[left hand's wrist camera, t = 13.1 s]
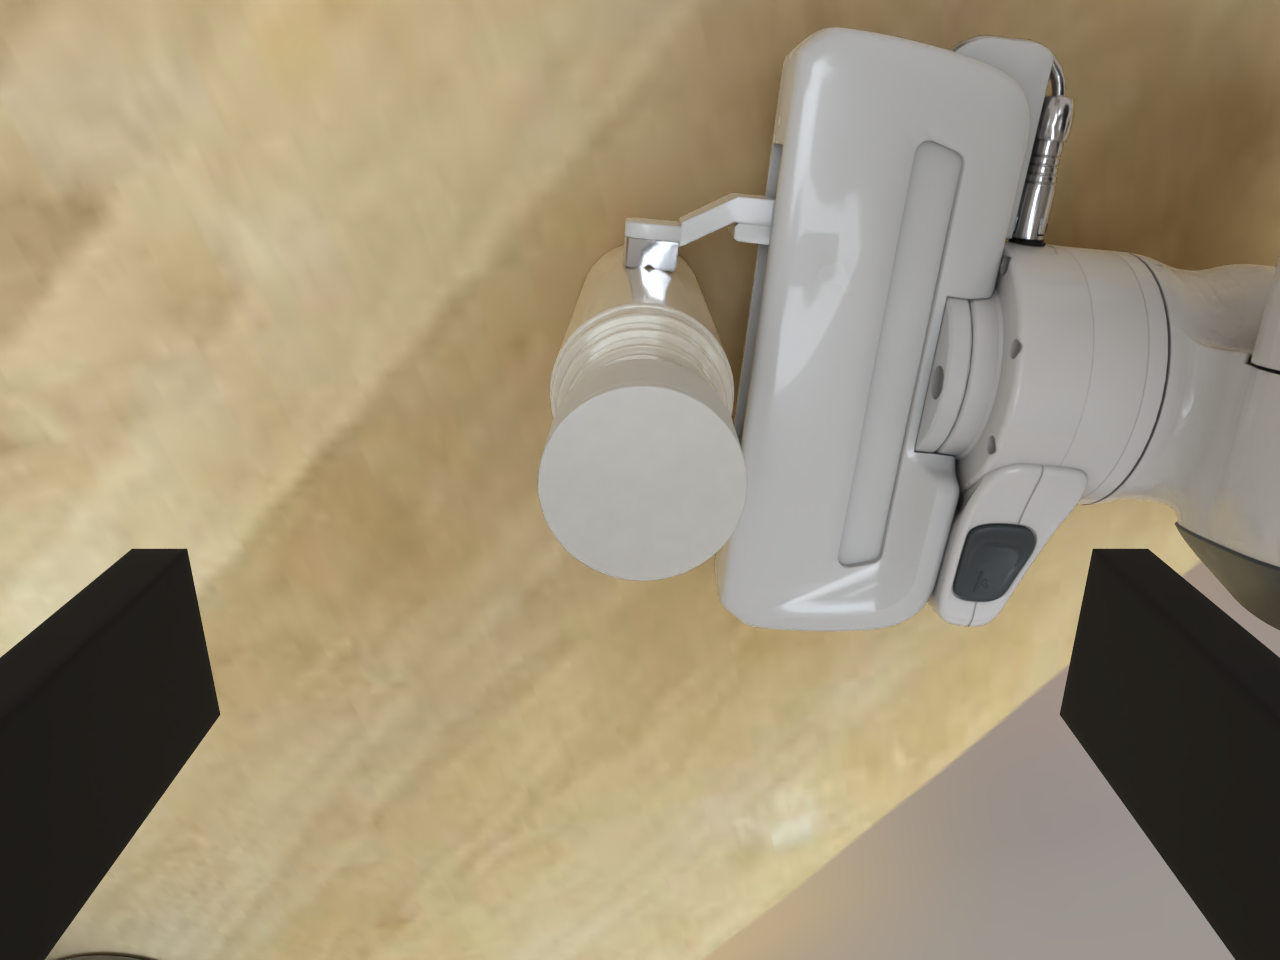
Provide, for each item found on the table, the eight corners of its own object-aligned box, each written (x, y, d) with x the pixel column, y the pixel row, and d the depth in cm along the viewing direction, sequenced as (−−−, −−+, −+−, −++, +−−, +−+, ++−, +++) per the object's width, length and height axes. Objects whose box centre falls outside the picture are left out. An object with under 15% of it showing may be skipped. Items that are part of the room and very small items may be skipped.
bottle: (726, 297, 37) (815, 468, 18) (647, 387, 38) (655, 630, 20) (634, 215, 36) (628, 308, 17) (556, 310, 37) (471, 493, 19)
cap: (775, 440, 20) (791, 476, 18) (652, 568, 21) (653, 617, 19) (631, 318, 19) (630, 341, 17) (510, 459, 20) (495, 498, 18)
